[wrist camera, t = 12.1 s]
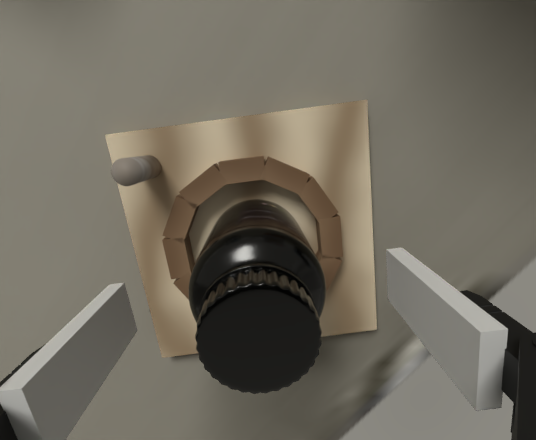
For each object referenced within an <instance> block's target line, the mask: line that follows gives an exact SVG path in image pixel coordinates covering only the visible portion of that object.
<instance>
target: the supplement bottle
mask: <svg viewBox="0 0 536 440" xmlns="http://www.w3.org/2000/svg"><path fill="white" fill-rule="evenodd" d="M188 296H189V304H190V308H191V311H192V314H193V317H194V319H195V321H196V323H197V331H196V334H195V339H196V342H197V345H196V350H197V351H198V353H199V360H200V361H201V362H202V363H203V364H204V368H205V370H207V371H208V372H210V374H211V376H212V377H213V378H215V379H217V380H218V381H219V382H220V383H221V384H223V385H227V386H228V387H229V388H231V389H234V390H239V391H241V392H250V393H253V394H256V393H260V392H261V393H268V392H271V391H278V390H280V389H281V388H283V387H288V386H290V385H291V384H292V383H293V382H296V381H299V379H300V378H301V376H303V375H305V374H306V373H307V372H308V370H309V368H310V367H311V366H313V365H314V362H315V358H316V357H317V356H318V355H319V347H320V346H321V338H320V337H321V334H322V330H321V327H320V319H319V318H320V316H321V314H322V311H323V308H324V305H325V300H326V282H325V276H324V273H323V270H322V267H321V265H320V262H319V260H318V258H317V256H316V255H315V253H314V251H313V249H312V248H311V246H310V244H309V242H308V240H307V239H306V237H305V235H304V233H303V232H302V230H301V228H300V226H299V225H298V223H297V222H296V220H295V219H294V217H293V216H292V215H291V214H290V213H289V212H288V211H287V210H286V209H285V208H283V207H282V206H280V205H278V204H276V203H274V202H271V201H267V200H261V199H253V200H246V201H242V202H240V203H237V204H235V205H233V206H232V207H230V208H229V209H227V210H226V211H225V212H224V213H223V214H222V215H221V216H220V217H219V219H218V220H217V221H216V223H215V225H214V227H213V228H212V230H211V232H210V234H209V236H208V238H207V240H206V242H205V244H204V246H203V248H202V250H201V252H200V254H199V256H198V258H197V260H196V262H195V265H194V267H193V270H192V273H191V276H190V281H189V288H188Z"/></svg>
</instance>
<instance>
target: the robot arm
mask: <svg viewBox="0 0 536 440" xmlns="http://www.w3.org/2000/svg"><path fill="white" fill-rule="evenodd" d="M386 259H387V292H388V300H389V302H390V303H391V304H392V305H393V307H394V308H395V309H396V310H397V312H398V313H399V314H400V315H401V317H402V318H403V319H404V321H405V322H406V323H407V324H408V326H409V327H410V328H411V329H412V331H413V332H414V333H415V334H416V336H417V337H418V338H419V339H420V341H421V342H422V343H423V345H424V346H425V347H426V348H427V350H428V351H429V352H430V353H431V355H432V356H433V357H434V358H435V360H436V361H437V362H438V364H439V365H440V366H441V367H442V369H443V370H444V371H445V372H446V374H447V375H448V376H449V377H450V379H451V380H452V381H453V382H454V384H455V385H456V386H457V387H458V389H459V390H460V391H461V393H462V394H463V395H464V396H465V398H466V399H467V400H468V401H469V403H470V404H471V405H472V406H473V408H474V409H475V410H476V411H479V410H487V409H496V408H501V404H502V393H503V392H504V393H505V394H506V395H507V396H508V397H509V398H510V399H511V400H512V401H513V402H514V406H513V415H512V426H511V432H512V439H511V440H536V333H532V332H531V331H530V330H528V329H527V328H525V327H524V326H523V325H521V324H520V323H518V322H517V321H516V320H514V319H513V318H511V317H510V316H509V315H507V314H506V313H504V312H502V310H500V309H499V308H497V307H496V306H493V304H492V303H490V302H489V301H488V300H486V299H485V298H483V297H482V296H480V295H477V294H475V293H472V292H470V291H467V290H466V291H458V290H457V289H455V288H454V287H453V286H451V285H450V284H449V283H447V282H446V281H445V280H444V279H442V278H441V277H440V276H438V275H437V274H436V273H434V272H433V271H432V270H430V269H429V268H428V267H427V266H425V265H424V264H423V263H421V262H420V261H419V260H417V259H416V258H415V257H414V256H412V255H411V254H410V253H408V252H407V251H406V250H404V249H403V248H402V247H401V248H394V249H386ZM136 332H137V327H136V323H135V320H134V316H133V313H132V309H131V305H130V302H129V298H128V294H127V291H126V287H125V284H124V283H118V284H111V285H108V286H107V287H106V288H105V289H104V290H103V291H102V292H101V293H100V294H99V295H98V296H97V297H96V298H95V299H93V300H92V301H91V302H90V303H89V304H88V305H87V306H86V307H85V308H84V309H83V310H82V311H81V312H80V313H79V314H77V315H76V316H75V317H74V318H73V319H72V320H71V321H70V322H69V323H68V324H67V325H66V326H65V327H64V328H63V329H62V330H60V331H59V332H58V333H57V334H56V335H55V336H54V337H53V338H52V339H51V340H50V341H49V342H48V343H47V344H45V345H44V346H42V347H41V348H39V349H38V350H36V351H35V352H33V353H32V354H31V355H29V356H28V357H27V358H26V359H25V360H24V361H23V362H22V363H21V365H19V366H17V367H16V368H15V369H14V370H13V371H12V373H11V374H9V375H8V376H7V377H6V378H4V379H3V380H2V381H1V382H0V440H66V438H67V437H68V435H69V434H70V432H71V431H72V429H73V428H74V426H75V425H76V423H77V422H78V420H79V418H80V417H81V415H82V414H83V412H84V411H85V409H86V408H87V406H88V405H89V403H90V402H91V400H92V399H93V397H94V396H95V394H96V393H97V391H98V390H99V388H100V387H101V385H102V384H103V382H104V381H105V379H106V377H107V376H108V374H109V373H110V371H111V370H112V368H113V367H114V365H115V364H116V362H117V361H118V359H119V358H120V356H121V355H122V353H123V352H124V350H125V349H126V347H127V346H128V344H129V343H130V341H131V339H132V338H133V336H134V335H135V333H136Z"/></svg>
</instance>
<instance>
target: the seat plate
mask: <svg viewBox="0 0 536 440" xmlns="http://www.w3.org/2000/svg"><path fill="white" fill-rule="evenodd" d="M105 137H106V141H107V145H108V149H109V152H110V156H111V160H112V164H113V165H112V167H111V174H112V177H113V179H114V180H115V181H116V182H117V184H118V187H119V191H120V195H121V199H122V203H123V207H124V211H125V215H126V219H127V223H128V226H129V230H130V234H131V238H132V242H133V246H134V250H135V254H136V258H137V261H138V265H139V269H140V273H141V277H142V281H143V285H144V289H145V293H146V296H147V300H148V304H149V308H150V312H151V316H152V320H153V324H154V328H155V332H156V335H157V339H158V343H159V347H160V351H161V355H162V358H165V357H173V356H180V355H188V354H195V353H198V351H197V350H196V345H197V342H196V339H195V334H196V331H197V323H196V321H195V319H194V317H193V314H192V311H191V308H190V304H189V296H188V288H189V281H190V276H191V273H192V270H193V267H194V265H195V262H196V260H197V258H198V256H199V254H200V252H201V250H202V248H203V246H204V244H205V242H206V240H207V238H208V236H209V234H210V232H211V230H212V228H213V227H214V225H215V223H216V221H217V220H218V219H219V217H220V216H221V215H222V214H223V213H224V212H225V211H226V210H227V209H229V208H230V207H232V206H233V205H235V204H237V203H240V202H242V201H246V200H253V199H261V200H267V201H271V202H274V203H276V204H278V205H280V206H282V207H283V208H285V209H286V210H287V211H288V212H289V213H290V214H291V215H292V216H293V217H294V219H295V220H296V222H297V223H298V225H299V226H300V228H301V230H302V232H303V233H304V235H305V237H306V239H307V240H308V242H309V244H310V246H311V248H312V249H313V251H314V253H315V255H316V256H317V258H318V260H319V262H320V265H321V267H322V270H323V273H324V276H325V282H326V300H325V305H324V308H323V311H322V314H321V316H320V318H319V319H320V327H321V330H322V334H321V337H324V336H331V335H339V334H346V333H354V332H362V331H369V330H377V320H376V296H375V272H374V249H373V225H372V202H371V178H370V155H369V131H368V108H367V100H362V101H354V102H347V103H339V104H332V105H324V106H317V107H309V108H302V109H295V110H287V111H280V112H272V113H265V114H257V115H250V116H242V117H235V118H227V119H220V120H212V121H205V122H197V123H190V124H182V125H175V126H167V127H160V128H152V129H145V130H138V131H130V132H123V133H115V134H108V135H105Z"/></svg>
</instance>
